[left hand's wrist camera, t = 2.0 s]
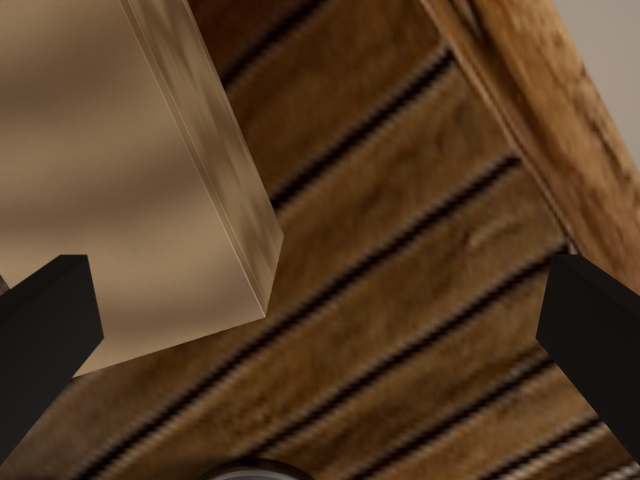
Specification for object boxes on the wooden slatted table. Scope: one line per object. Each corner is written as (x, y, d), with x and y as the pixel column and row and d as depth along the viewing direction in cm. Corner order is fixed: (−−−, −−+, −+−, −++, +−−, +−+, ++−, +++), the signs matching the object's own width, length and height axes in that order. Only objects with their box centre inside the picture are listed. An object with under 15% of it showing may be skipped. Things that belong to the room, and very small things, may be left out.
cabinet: (32, 65, 29) (-147, 61, 18) (187, 0, 28) (96, -49, 17) (150, 280, 35) (71, 378, 24) (284, 235, 34) (265, 317, 23)
